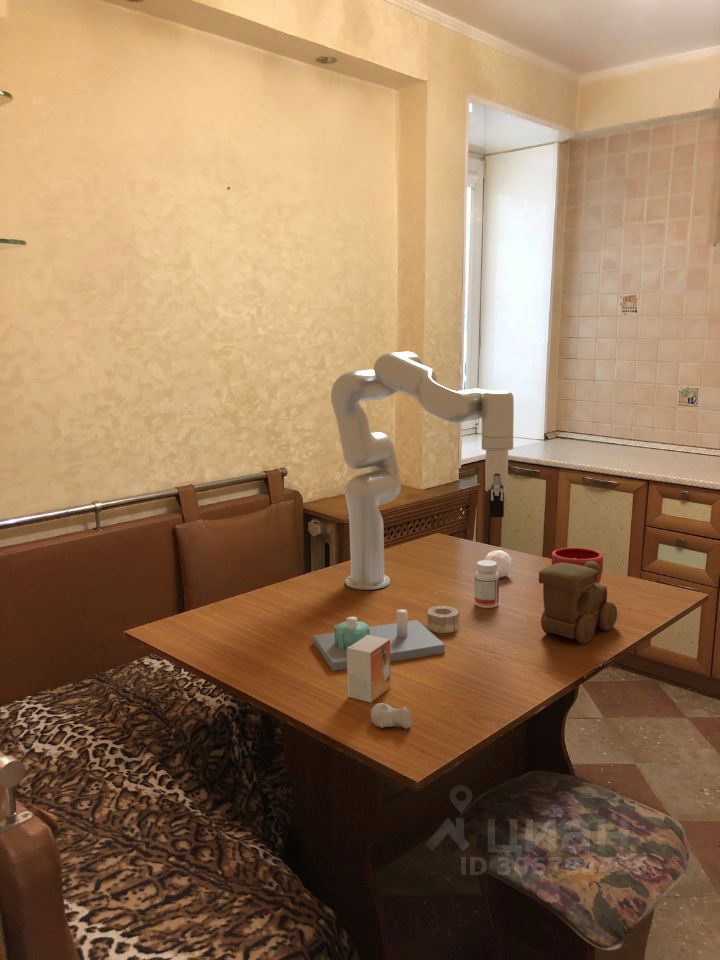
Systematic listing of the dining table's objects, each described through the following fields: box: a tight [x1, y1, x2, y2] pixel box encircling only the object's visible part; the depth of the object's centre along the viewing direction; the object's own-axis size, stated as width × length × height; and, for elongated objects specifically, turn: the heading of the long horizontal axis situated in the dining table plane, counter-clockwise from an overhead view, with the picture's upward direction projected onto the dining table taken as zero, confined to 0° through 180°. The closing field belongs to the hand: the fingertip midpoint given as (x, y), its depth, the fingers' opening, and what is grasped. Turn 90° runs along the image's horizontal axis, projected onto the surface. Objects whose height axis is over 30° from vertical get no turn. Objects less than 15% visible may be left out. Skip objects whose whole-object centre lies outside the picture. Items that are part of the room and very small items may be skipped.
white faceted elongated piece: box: [484, 549, 513, 578], centre depth 230 cm, size 8×8×12 cm
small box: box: [346, 635, 392, 703], centre depth 158 cm, size 8×6×10 cm
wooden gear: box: [426, 605, 460, 634], centre depth 192 cm, size 7×8×4 cm
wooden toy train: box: [538, 561, 618, 645], centre depth 185 cm, size 20×11×17 cm, turn 135°
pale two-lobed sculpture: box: [370, 702, 413, 730], centre depth 146 cm, size 4×8×5 cm
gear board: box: [312, 609, 446, 672], centre depth 180 cm, size 16×26×8 cm, turn 109°
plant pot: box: [551, 547, 604, 584], centre depth 210 cm, size 13×13×12 cm
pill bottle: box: [474, 559, 500, 609], centre depth 206 cm, size 6×6×11 cm
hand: (497, 512), depth 194 cm, fingers open, 9 cm apart
